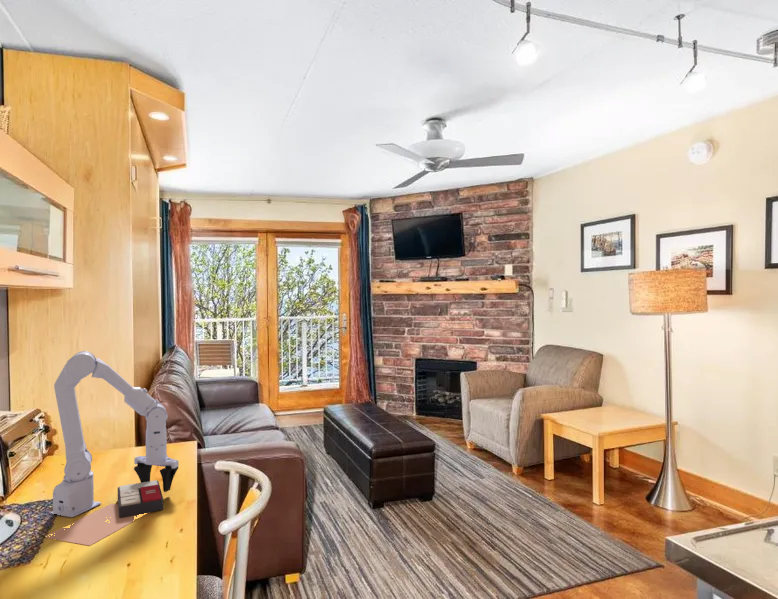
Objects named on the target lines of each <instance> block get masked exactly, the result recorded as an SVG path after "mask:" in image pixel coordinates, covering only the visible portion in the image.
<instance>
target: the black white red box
mask: <svg viewBox="0 0 778 599" xmlns="http://www.w3.org/2000/svg"><path fill="white" fill-rule="evenodd" d="M162 493H163V492H162V490H161V485H160V482H159V480H157V479H156V480H150V481H148V482H142V483H141V482H138V483H131V484H125V485H120V486H118V487H117V504H118V509H119V518H123V517H128V516H133V515H138V514H144V513H149V512H150V513H154V512H159V511H163V510H164V496H163V494H162ZM158 510H159V511H158ZM150 513H149V514H150Z"/></svg>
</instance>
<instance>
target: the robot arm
mask: <svg viewBox="0 0 778 599" xmlns="http://www.w3.org/2000/svg"><path fill="white" fill-rule="evenodd" d="M90 374H91V378H96V379H102V380H104V381H106V382H107V383H108V384H109V385H111V386H112V387H113V388H114V389H116V390H117V391H118V392H120V393H121V394H122V395H123V397H124V400H123V402H124V403H125V404H127V405H128V406H129V407H130V408H132V410H133V411H134V412H136V413H137V414H138V415H140V416H144V418H145V422H146V429H145V455H143V456H142V455H138V456H136V457H133V458H134V460H133V461H134V465H136V466H134V467H133V471H135V473H136V475H137V476H138V478H139V480H140V483H142V482H148V481H151V472H152V469H153V468H152V467H153V466H156V467H157V466H158V467H164V468H162V469H159V472H160V475H161V479H162V490H163V492H164V493H168V491H171V488H172V483H173V480H174V478H175V475H176V473H177V471H178V470H179V460H178V459H173V458H171V457H169V456H168V454H167V449H168V448H167V444H168V443H167V440H168V438H167V437H168V436H167V427H166V426H167V421H168V418H169V417H168V416H169V415H168V413H167V409H166V408H165V406H164V405H163V404H162V403H160V401H159V400H158V399H155V398H154V397H152V396H151V395H150V394H149V393H148V390H147V388H145V387H143V388H142V387H140V386H132V385H131V384H130V383H129V382H128V381H127V380H126V379H125V378H123V377H122V376H121V375H120V374H119V372H117V371H115V370H114V369H113V368H112V367H111V366H110V365H109V364H107V363H106V361H104V360H102V359H101V358H99V357H96V356H95V355H94V354H93V352H90V351H87V350H82V351H78V352H77V353H75V354H73V356H71V357H70V358H69V359H68V360H67V361H66V363H65V364H64V365H63V367H62V370H61V372H60V373H59V375H58V377H57V378H56V380H55V382H54V384H53V387H54V388H53V389H54V393H55V399H56V403H57V409H58V414H59V415H58V416H59V420H60V426H61V430H62V436H63V441H64V449H65V460H66V462H65V465H64V469H63V472H64V476H63V480H62V481H61V482H60V483H59V484H57V485H55V486H54V488H53V490H52V511H51V512H50V514H51V513H52V514H51V515H54V514H57V515H56V516H60V515H61V516H62V517H68V518H74V517H76V516H79V515H80V514H83V513H84V512H87V511H90V510H91V509H93V508H95V507H98V506H99V505H101V504H102V502H101V501H97V500H96V501H95V499H94V493H95V492H94V489H95V488H94V472H93V471H92V470H91V469H92V465H91V464H92V463H93V462H92V461H93V456H92V453H91V452H90V451H89V450H88V448H87V444H86V441H85V437H84V432H83V426H82V420H81V416H80V410H79V405H78V399H77V394H76V387H77V385H78V384H79V383H80V382H81V381H82V380H83V379H84V378H86V377H88V376H89V375H90ZM61 516H60V517H61Z"/></svg>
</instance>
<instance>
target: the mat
mask: <svg viewBox="0 0 778 599" xmlns="http://www.w3.org/2000/svg"><path fill="white" fill-rule="evenodd" d="M138 515H139V514H138ZM134 516H136V517H137V515H133V516H128V517H123V518H119V509H118V503H117V504H116V503H109V504H107V505H106V506H104V507H102V508H100V509H98V510H95V511H93V512H92V513H89V514H88V515H85V516H83V517H81V518H79V519H77V520H75V521H73V522H74V524H73V525H72V524H71V523H70V524H71V526H70V528H62V527H61V528H58V529H59V530H58V529H57V530H54V531H55V532H54V531H52V532H50V533H49V534H51V533H52V534H53V535H52V536H51V535H49V536H50V537H49V536H48V534H46V535H47V537H46V538H45V539H47V538H49V540H53V539H56V540H55V541H59V540H61V541H60V542H64V541H66V542H65V543H70V542H71V543H70V544H74V545H75V544H76V545H81V544H82V546H88V547H91V546H93V545H94V544H96V543H98V542H100V541H101V539H102V540H104V539H106V538H107V537H109V536H111V535H112V534H114V533H116V532H117V531H119V530H121V528H122V529H124V528H125V527H127V526H129V525H130V523H131V524H133V523H134V522H133V520H134ZM106 517H107V518H106ZM110 517H111V518H110ZM107 519H108V520H109V521H110V523H108V522H109V521H107V522H105V521H106V520H107ZM128 524H129V525H128ZM64 529H65V530H64ZM54 533H55V534H54ZM54 535H55V536H54ZM92 544H93V545H92ZM90 545H91V546H90Z"/></svg>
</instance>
